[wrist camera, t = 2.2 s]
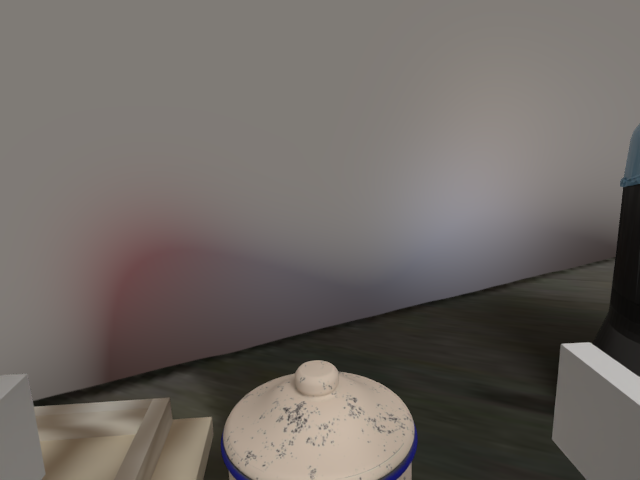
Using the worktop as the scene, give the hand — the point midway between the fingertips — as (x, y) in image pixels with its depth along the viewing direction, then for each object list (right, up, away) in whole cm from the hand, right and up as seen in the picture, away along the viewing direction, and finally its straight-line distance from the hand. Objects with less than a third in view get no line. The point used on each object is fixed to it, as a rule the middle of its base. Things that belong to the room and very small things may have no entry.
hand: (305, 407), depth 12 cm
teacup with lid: (0, -13, +14) cm, 19 cm away
